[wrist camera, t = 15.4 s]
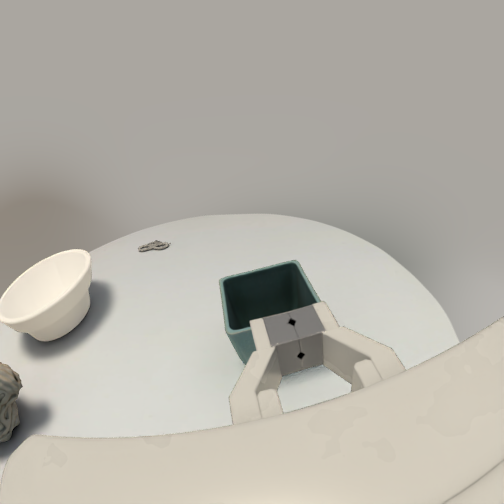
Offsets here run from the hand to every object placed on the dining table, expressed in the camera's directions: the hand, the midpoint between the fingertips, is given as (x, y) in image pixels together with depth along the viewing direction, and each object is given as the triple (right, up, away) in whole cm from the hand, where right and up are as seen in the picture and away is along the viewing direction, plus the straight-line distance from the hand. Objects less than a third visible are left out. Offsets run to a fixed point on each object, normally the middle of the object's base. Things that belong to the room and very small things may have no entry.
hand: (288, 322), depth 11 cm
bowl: (-36, -9, +34) cm, 50 cm away
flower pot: (+2, -9, +22) cm, 24 cm away
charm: (-22, +4, +51) cm, 55 cm away
